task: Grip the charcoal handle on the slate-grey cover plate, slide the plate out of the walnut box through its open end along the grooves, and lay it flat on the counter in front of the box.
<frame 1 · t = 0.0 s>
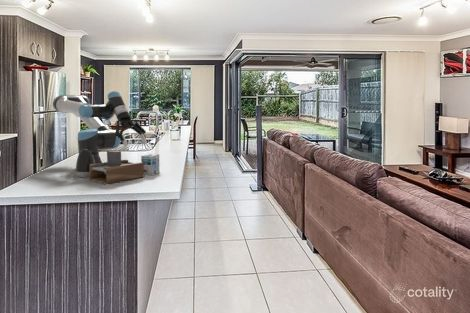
hand: (136, 144, 227), 15 cm above the counter, tool tilted 35°, fingers open, 13 cm apart
light bulb box: (150, 173, 221), on the counter
walnut box: (117, 179, 204), on the counter
cover plate: (114, 168, 202), point 6 cm above the counter, touching walnut box
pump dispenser: (86, 177, 210), on the counter
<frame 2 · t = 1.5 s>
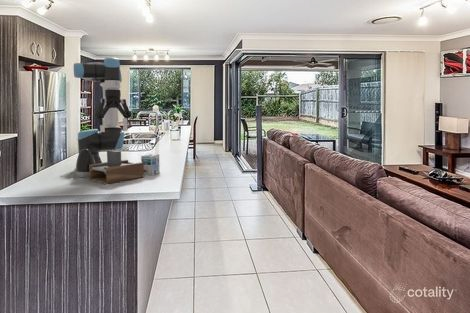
hand: (114, 131, 200), 25 cm above the counter, tool pointing down, fingers open, 13 cm apart
nothing on the counter moved.
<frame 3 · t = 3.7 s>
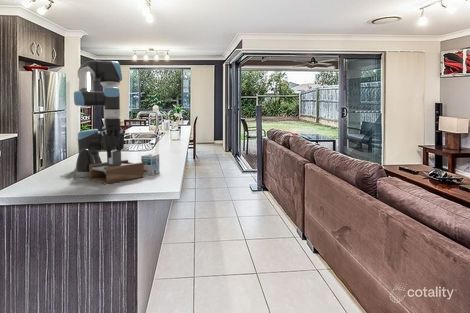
hand: (114, 163, 202), 9 cm above the counter, tool pointing down, fingers closed on cover plate, 3 cm apart
cover plate: (114, 168, 202), point 6 cm above the counter, touching gripper, walnut box
everything else where it was.
when the fingers open (4 cm above the counter, at t = 12.1 s): cover plate drops 2 cm, on the counter.
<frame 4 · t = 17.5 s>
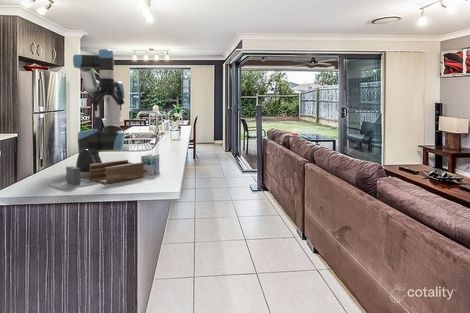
hand: (108, 116, 219), 32 cm above the counter, tool pointing down, fingers open, 13 cm apart
cover plate: (73, 185, 190), on the counter
everything else where it was.
at the end: cover plate inside the target area (0.0 cm from its centre), on the counter; cover plate tilted 0°; the gripper is holding nothing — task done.
